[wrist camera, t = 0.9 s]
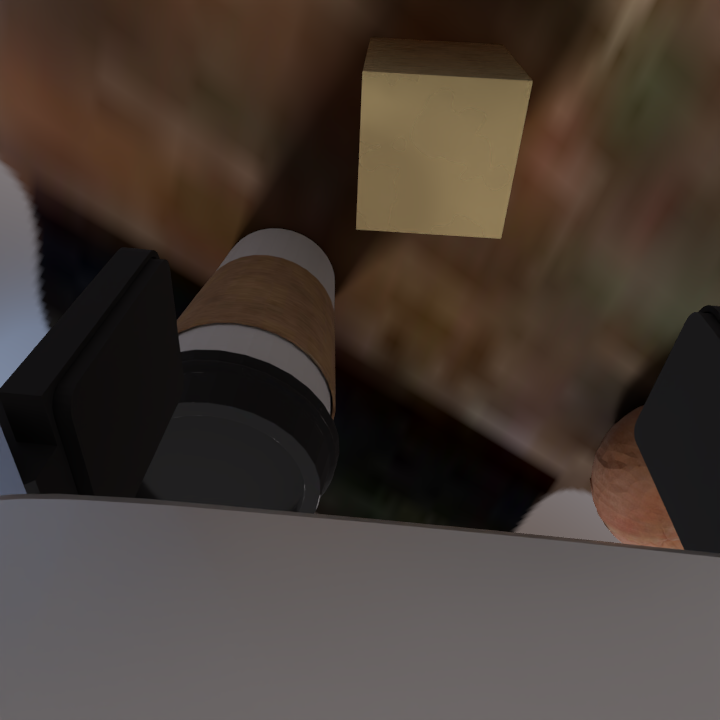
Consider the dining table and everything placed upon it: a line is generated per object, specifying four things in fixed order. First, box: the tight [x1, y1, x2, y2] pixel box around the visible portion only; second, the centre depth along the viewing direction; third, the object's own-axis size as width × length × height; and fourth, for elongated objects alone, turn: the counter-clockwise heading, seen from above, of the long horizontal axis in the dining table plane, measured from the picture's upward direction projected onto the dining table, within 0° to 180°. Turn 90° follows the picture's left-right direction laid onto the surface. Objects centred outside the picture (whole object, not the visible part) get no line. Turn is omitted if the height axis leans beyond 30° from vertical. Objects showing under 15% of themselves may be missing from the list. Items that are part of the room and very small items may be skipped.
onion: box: [590, 405, 684, 550], centre depth 33 cm, size 10×9×10 cm
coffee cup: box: [135, 228, 339, 514], centre depth 26 cm, size 8×8×15 cm
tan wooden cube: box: [356, 37, 533, 239], centre depth 23 cm, size 6×6×7 cm
